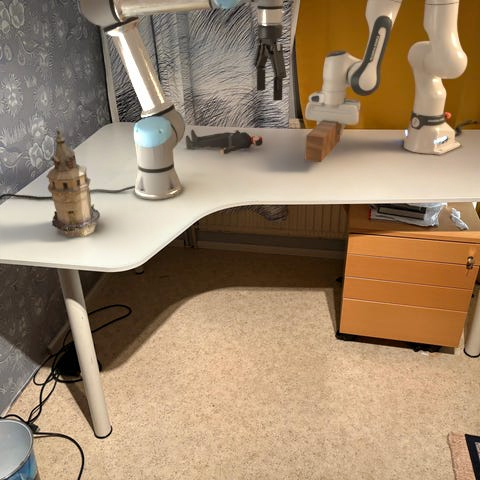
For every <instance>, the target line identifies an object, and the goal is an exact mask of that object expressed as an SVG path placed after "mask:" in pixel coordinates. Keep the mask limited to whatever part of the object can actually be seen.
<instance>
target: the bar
mask: <svg viewBox="0 0 480 480" xmlns="http://www.w3.org/2000/svg"><path fill="white" fill-rule="evenodd" d="M341 128H342V127H341V124H339V123H338V122H333V121H324V120H323V121H322V122H321V123H319V124H318V125H317V124H316V126H315V127H313V128H312V129H311V131H310V132H309V133H308V134H306V137H305V154H304V161H308V162H315V163H322V162H323V161H324V160H325V159H326V158H327V157H328V155H329V154H330V153H331V152H332V151H333V150H334V149H335V148H336V146H337V145H338V144H339V143H340V141H341V135H338V130H339V129H341Z"/></svg>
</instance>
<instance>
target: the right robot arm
mask: <svg viewBox="0 0 480 480" xmlns="http://www.w3.org/2000/svg"><path fill="white" fill-rule="evenodd" d="M424 1H425V2H424V11H423V12H424V13H423V24H422V25H423V29H424V31H425V32H426V34H427V37H428V39H429V40H423V41H417V42H416V43H413V45H412V46H411V47H410V48H409V51H408V53H407V62H408V64H409V66H410V67H411V70H412V74H413V80H414V100H413V107H412V108H413V109H412V110H411V112H410V118H409V120H410V122H409V124H408V128H407V129H405V138H404V139H403V145H402V146H403V148H404V149H406V150H408V151H410V152H413V153H417V154H428V155H429V154H431V155H439V156H441V155H443V154H446V153H448V152H450V151H453V150H455V149H457V148H459V147H460V146H461V144H460V143H459V142H458V141H457V140H455V138H456V137H458V136H460V135H461V134H462V133H463V131H462V129H461V127H462V126H465V125H467V124H469V123H473V122H472V119H469V120H466V121H464V122H461V123H459V125H457V128H456V129H457V131H458V132H456V131H455V130H454V129H453V127H451V126H450V124H448V123H447V122H446V119H450V118H451V117H452V114H451V113H450V112H444V110H445V104H446V99H447V90H446V88H445V86H444V84H443V81H442V79H444V80H453V79H457V78H460V77H461V76H462V75H463V74H464V72H465V70H466V69H467V66H468V56H467V54H466V53H465V51H464V50H463V48H462V45H461V42H460V39H459V31H458V17H459V15H458V14H459V5H460V0H424ZM402 2H403V0H367V2H366V8H365V19H366V21H367V26H368V31H369V33H368V35H369V36H368V41H367V44H366V48H365V51H364V54H363V58H362V59H360V58H357V57H356V56H353V55H351V54H350V53H349V52H348V51H346V50H334V51H331V52H329V53H328V54H326V56H325V58H324V62H323V69H322V81H323V82H322V87H321V90H319V91H315V92H312V93H311V94H310V95H309V96H308V102H307V103H306V108H305V111H304V118H305V120H307V121H315V122H316V126H317V125H318V124H319V123H321V122H322V121H323V120H324V121H333V122H338V123H339V124H341V129H339V130H338V135H340V136H342V135H343V131H344V129H345V128H346V127H347V125H349V126H356V125H358V123H359V122H360V111H361V108H362V107H361V106H362V104H361V102H360V101H359V100H358V99H356V98H354V99H353V98H346V95H347V88H351V89H352V91H353V92H354V94H356V95H358V96H359V97H366V96H367V97H368V96H370V95H372V94H374V93H375V92H376V91H377V90H378V89H379V87H380V84H381V80H382V79H381V68H382V67H381V66H382V63H383V60H384V56H385V53H386V49H387V47H388V43H389V39H390V35H391V32H392V29H393V26H394V24H395V21H396V18H397V16H398V13H399V10H400V8H401V6H402ZM474 123H475V124H479V122H478V120H477V121H475V122H474Z"/></svg>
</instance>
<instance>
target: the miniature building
mask: <svg viewBox="0 0 480 480" xmlns="http://www.w3.org/2000/svg"><path fill="white" fill-rule="evenodd" d="M56 134H57V136H56V138H55V140H54V141H55V142H56V147H55V154H54V156H52V157H51V161H52V162H53V165H54V167H53V168H51V169H50V170H49V171H48V173H47V174H46V178H47V179H48V182H49V184H48V186H47V190H48V191H49V193H50V194H51V196H52V199H51V200H52V201H53V205H54V209H55V211H53V217H52V220H51V223H52V225H51V227H54V228H56V229H58V230H59V231H60V234H63V235H64V234H65V235H66V236H69V237H77V236H80V237H83V236H87V235H88V234H90V233H93V232H94V231H95V229H96V226H97V225H98V223H99V220H100V216H101V213H100V212H99V210H98V209H96V208H95V204H92V201H91V200H92V199H91V198H92V197H91V193H92V192H91V191H90V190H91V188H90V184H91V178H89V177H88V174H87V167H85V166H84V165H83V166H82V165H80V164H77V160H76V154H75V151H74V150H70V149H69V147H68V145H67V143H66V138H65V137H64V136H63V135H61V130H60V129H56Z"/></svg>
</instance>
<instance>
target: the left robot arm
mask: <svg viewBox="0 0 480 480" xmlns="http://www.w3.org/2000/svg"><path fill="white" fill-rule="evenodd" d="M79 1H80V2H79V3H80V4H79V6H80V9H81V12H82V14H83V16H84V17H85V19H87V20H88V21H89V22H90V23H91V24H94V25H96V26H100V27H101V28H102V30H103V33H104V34H105V35H107V36H109V37H110V38H112V41H113V43H114V46H115V48H116V50H117V52H118V55H119V57H120V59H121V62H122V64H123V67H124V69H125V71H126V73H127V75H128V78H129V80H130V82H131V85H132V87H133V89H134V92H135V94H136V96H137V98H138V101H139V103H140V106H141V108H142V111H141V112H140V113H141V114H140V117H141V119H139V120H138V121H137V122H136V123H135V125H134V127H133V139H134V144H135V154H136V161H137V175H136V179H135V184H134V185H132V186H127V187H124V188H120V189H102V188H95V189H93V188H92V189H90V191H91V192H90V193H95V192H96V193H97V192H101V193H110V194H111V193H114V194H117V193H122V192H126V191H128V190H133V189H134V193H135V195H136V196H137V197H138V198H141V199H143V200H148V201H161V200H168V199H171V198H174V197H176V196H178V195H179V194H180V193H181V192H182V182H181V180H180V177H179V176H178V173H177V171H176V169H175V161H174V160H175V159H174V158H175V157H174V149H175V148H176V146H177V145H178V144H179V143H180V142H181V141H182V139H183V138H184V135H185V132H186V128H187V124H186V119H185V117H184V116H183V114H182V113H181V112H180V111H179V110H177V109H176V106H175V104H174V102H173V101H171V100H168V98H167V97H166V94H165V92H164V90H163V87H162V85H161V82H160V79H159V77H158V74H157V72H156V69H155V67H154V65H153V63H152V60H151V58H150V54H149V52H148V50H147V48H146V45H145V43H144V41H143V38H142V35H141V33H140V31H139V28H138V24H139V22H140V18H139V17H143V16H153V15H163V14H165V15H166V14H172V13H183V12H184V13H185V12H193V11H202V10H203V11H204V10H212V9H224V10H229V9H233V8H235V7H237V6H238V5H239V4H240V3H257V8H256V12H257V13H256V14H257V15H256V17H257V18H256V21H257V23H258V25H257V28H256V29H257V43H256V44H257V45H256V49H255V55H254V59H253V67H255V69H256V91H257V92H260V91H266V69H267V66H266V64H267V62H268V60H269V62H270V64H271V65H270V66H271V68H272V72H273V75H274V76H273V78H272V80H273V83H272V84H273V86H272V87H273V91H272V92H273V93H272V101H273V102H277V101H283V88H284V85H283V84H284V82H283V81H284V79H286V78H287V70H286V64H285V57H284V50H283V48H284V47H283V46H284V45H283V43H278V42H279V41H278V40H279V39H281V38H283V24H282V23H283V15H284V13H285V12H284V0H79ZM5 197H13V198H21V199H25V198H26V199H34V200H52V195H50V196H37V195H26V194H15V193H2V194H1V195H0V200H1V199H2V198H5ZM13 288H14V292H18V286H17V284H13Z"/></svg>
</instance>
